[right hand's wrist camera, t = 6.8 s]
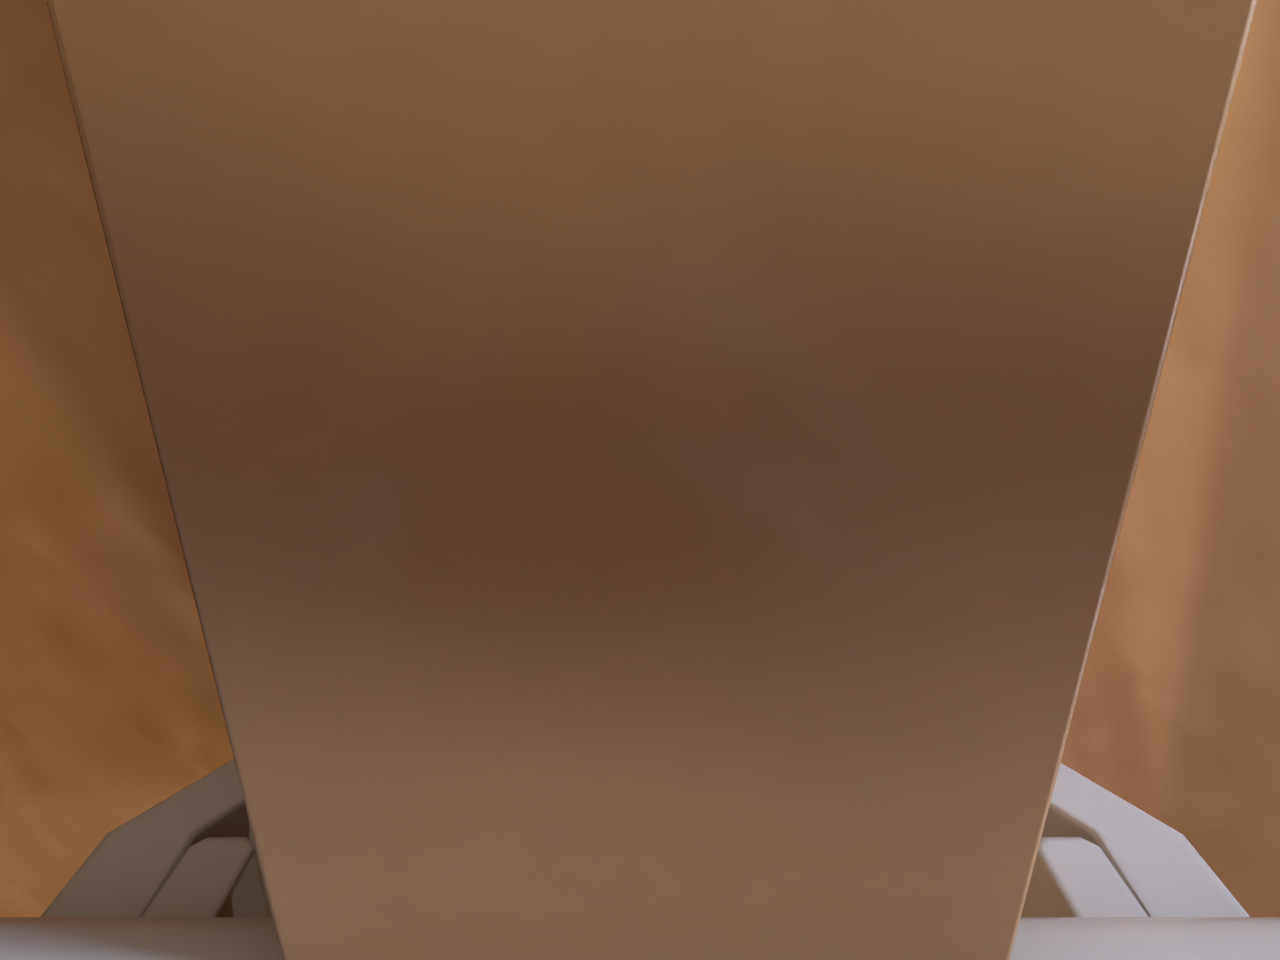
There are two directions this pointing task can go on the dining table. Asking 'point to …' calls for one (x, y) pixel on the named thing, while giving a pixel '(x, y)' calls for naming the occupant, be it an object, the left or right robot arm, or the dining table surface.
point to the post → (649, 439)
